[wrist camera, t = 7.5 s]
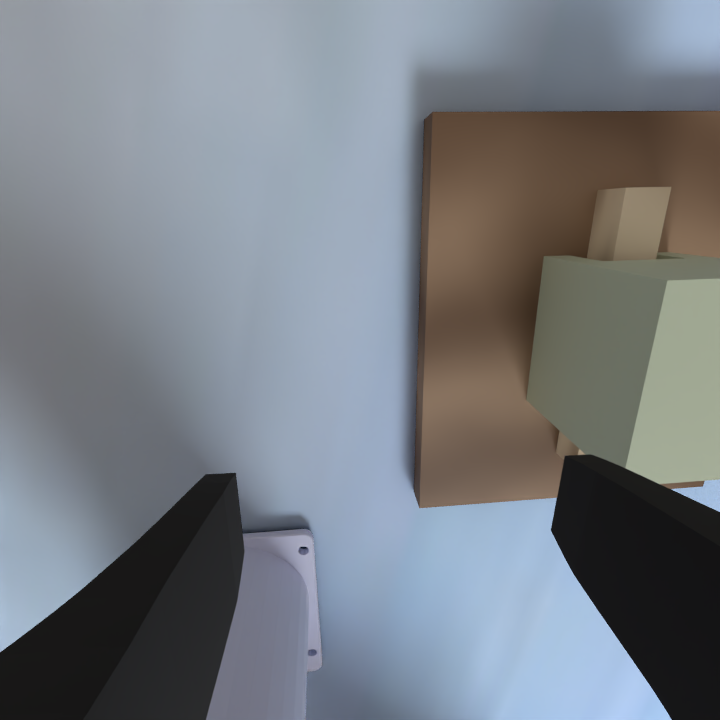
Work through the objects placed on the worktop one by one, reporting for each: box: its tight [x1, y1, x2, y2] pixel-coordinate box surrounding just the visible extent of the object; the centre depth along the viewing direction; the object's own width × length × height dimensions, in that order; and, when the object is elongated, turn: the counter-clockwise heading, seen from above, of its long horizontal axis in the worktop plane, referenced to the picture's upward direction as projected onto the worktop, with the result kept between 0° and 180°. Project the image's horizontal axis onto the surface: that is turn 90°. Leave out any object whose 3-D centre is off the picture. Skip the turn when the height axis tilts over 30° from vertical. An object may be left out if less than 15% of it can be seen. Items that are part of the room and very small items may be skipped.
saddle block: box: [526, 252, 720, 484], centre depth 14 cm, size 6×5×6 cm
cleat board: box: [414, 111, 720, 508], centre depth 17 cm, size 16×14×3 cm
